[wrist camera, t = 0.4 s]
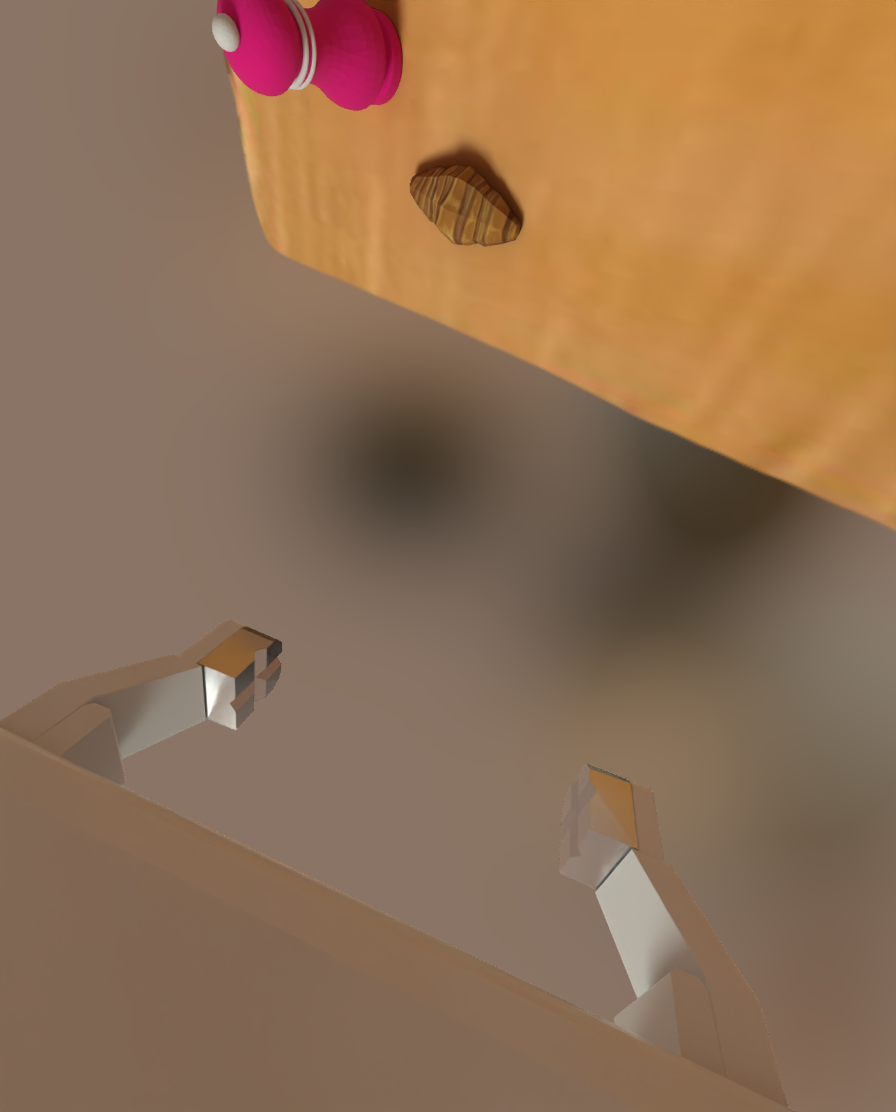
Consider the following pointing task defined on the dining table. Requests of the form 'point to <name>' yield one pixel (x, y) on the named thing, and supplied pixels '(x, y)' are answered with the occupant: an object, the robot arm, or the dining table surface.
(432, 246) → the dining table surface
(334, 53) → the pepper mill
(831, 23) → the dining table surface
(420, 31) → the dining table surface
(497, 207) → the croissant
